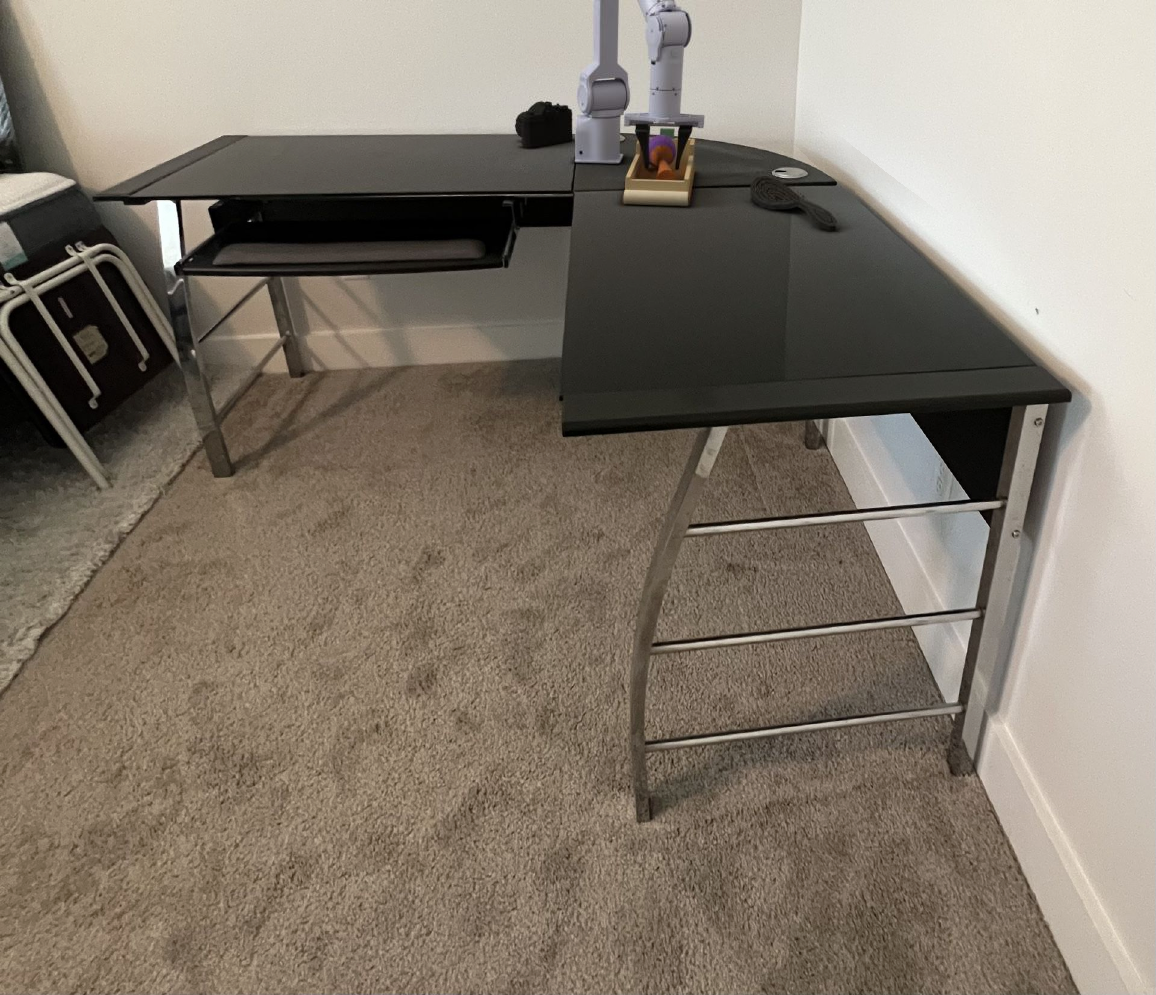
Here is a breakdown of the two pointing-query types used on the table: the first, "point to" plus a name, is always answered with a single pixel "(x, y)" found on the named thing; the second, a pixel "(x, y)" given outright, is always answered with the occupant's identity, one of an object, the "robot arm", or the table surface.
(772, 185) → the hairbrush
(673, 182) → the wooden tray
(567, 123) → the film camera
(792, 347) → the table surface
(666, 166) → the kendama
